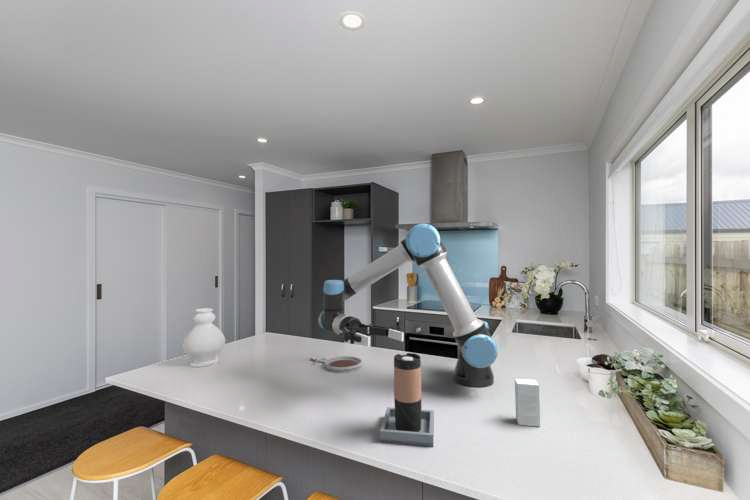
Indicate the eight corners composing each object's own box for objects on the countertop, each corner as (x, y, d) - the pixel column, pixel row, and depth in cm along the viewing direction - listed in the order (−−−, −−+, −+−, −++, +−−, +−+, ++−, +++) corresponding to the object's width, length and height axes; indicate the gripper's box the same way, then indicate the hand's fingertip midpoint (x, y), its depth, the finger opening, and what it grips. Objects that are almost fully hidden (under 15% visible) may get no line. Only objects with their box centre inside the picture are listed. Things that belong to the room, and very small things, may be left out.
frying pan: (320, 351, 168) (369, 358, 154) (320, 357, 168) (369, 364, 154) (297, 361, 153) (348, 369, 139) (297, 367, 153) (349, 376, 139)
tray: (433, 420, 101) (433, 410, 101) (433, 447, 87) (433, 435, 87) (387, 417, 104) (387, 407, 104) (379, 442, 90) (379, 430, 90)
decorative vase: (213, 354, 171) (212, 305, 171) (233, 361, 161) (232, 308, 161) (175, 364, 157) (175, 310, 157) (194, 372, 146) (194, 314, 146)
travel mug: (414, 437, 90) (413, 362, 91) (389, 430, 94) (388, 358, 95) (426, 425, 97) (425, 355, 97) (402, 418, 101) (401, 351, 101)
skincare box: (536, 420, 101) (536, 379, 101) (540, 427, 97) (539, 385, 97) (515, 418, 102) (514, 378, 102) (517, 425, 98) (516, 383, 98)
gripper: (374, 333, 128) (414, 346, 112) (315, 341, 113) (352, 357, 96) (375, 313, 128) (415, 323, 112) (317, 318, 113) (354, 330, 96)
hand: (386, 339), depth 104 cm, fingers open, 13 cm apart
